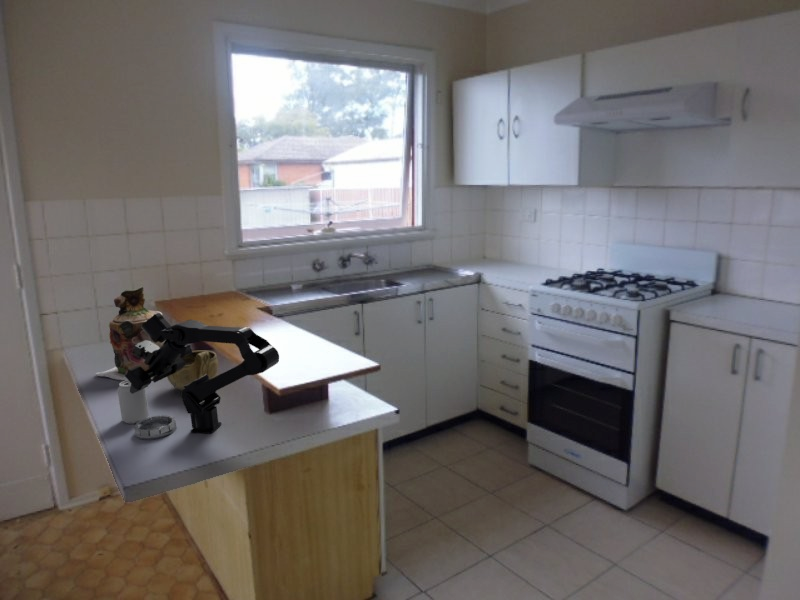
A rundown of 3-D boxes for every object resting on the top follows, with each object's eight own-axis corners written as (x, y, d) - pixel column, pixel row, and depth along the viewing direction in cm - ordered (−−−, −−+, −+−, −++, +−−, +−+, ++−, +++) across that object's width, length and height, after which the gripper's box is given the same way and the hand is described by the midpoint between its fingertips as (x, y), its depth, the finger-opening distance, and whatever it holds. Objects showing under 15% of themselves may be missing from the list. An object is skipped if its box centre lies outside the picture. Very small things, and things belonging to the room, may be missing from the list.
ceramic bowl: (155, 387, 206) (150, 346, 203) (201, 374, 218) (196, 334, 215) (186, 403, 191) (181, 359, 188) (234, 388, 203) (229, 345, 199)
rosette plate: (183, 423, 176) (182, 415, 176) (163, 440, 166) (161, 432, 165) (149, 422, 178) (148, 414, 178) (127, 439, 168) (125, 430, 167)
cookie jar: (146, 357, 241) (135, 278, 234) (192, 363, 230) (182, 282, 223) (92, 377, 220) (78, 292, 212) (140, 386, 209) (127, 296, 202)
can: (141, 412, 186) (136, 375, 183) (154, 418, 181) (148, 380, 178) (117, 420, 180) (111, 383, 177) (130, 427, 175) (124, 388, 173)
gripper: (171, 324, 180) (147, 356, 186) (125, 342, 163) (99, 377, 169) (196, 351, 179) (171, 383, 185) (152, 372, 162) (125, 406, 168)
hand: (142, 386), depth 177 cm, fingers open, 9 cm apart
